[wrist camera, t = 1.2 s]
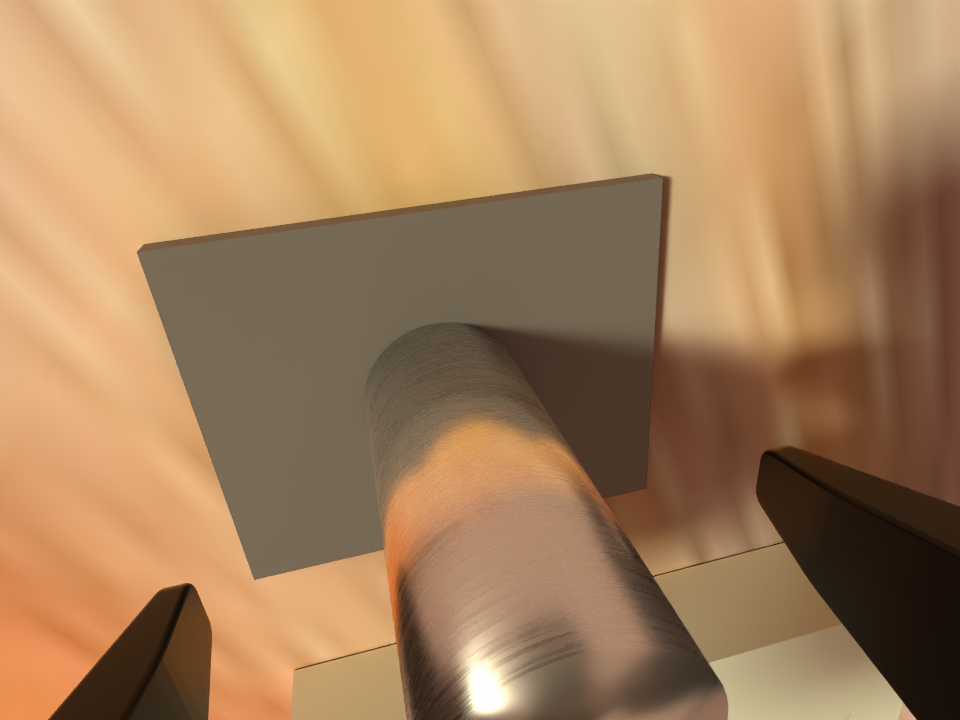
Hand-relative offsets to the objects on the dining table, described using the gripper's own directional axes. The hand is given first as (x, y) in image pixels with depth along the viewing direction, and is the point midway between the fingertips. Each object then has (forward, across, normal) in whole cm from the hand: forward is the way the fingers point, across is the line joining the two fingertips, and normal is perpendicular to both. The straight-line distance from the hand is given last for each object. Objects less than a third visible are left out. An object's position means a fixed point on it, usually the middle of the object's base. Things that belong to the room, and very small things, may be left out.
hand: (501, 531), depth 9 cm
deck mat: (+5, 0, 0) cm, 5 cm away
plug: (+4, 0, 0) cm, 5 cm away
